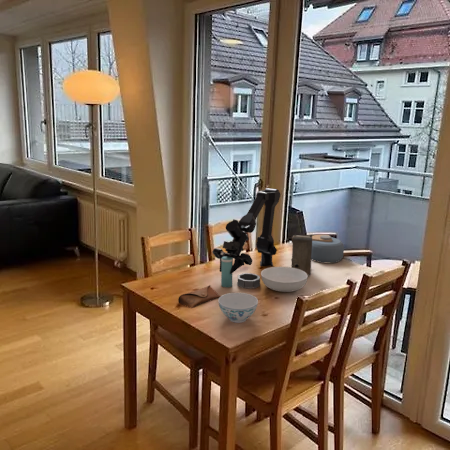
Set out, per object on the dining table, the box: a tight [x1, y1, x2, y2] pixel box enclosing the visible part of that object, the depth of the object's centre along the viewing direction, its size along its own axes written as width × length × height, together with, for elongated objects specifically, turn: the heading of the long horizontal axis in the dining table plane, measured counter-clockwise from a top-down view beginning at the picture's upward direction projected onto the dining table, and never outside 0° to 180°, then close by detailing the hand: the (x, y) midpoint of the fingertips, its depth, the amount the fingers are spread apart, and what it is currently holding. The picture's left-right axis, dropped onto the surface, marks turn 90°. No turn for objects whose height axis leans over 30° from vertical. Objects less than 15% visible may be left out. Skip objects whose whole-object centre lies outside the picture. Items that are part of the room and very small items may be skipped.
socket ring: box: [236, 272, 261, 289], centre depth 207 cm, size 10×10×4 cm
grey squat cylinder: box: [311, 234, 345, 263], centre depth 246 cm, size 19×20×12 cm
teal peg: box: [220, 256, 234, 288], centre depth 204 cm, size 5×5×13 cm
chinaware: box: [217, 292, 259, 324], centre depth 172 cm, size 15×15×8 cm
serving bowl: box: [260, 266, 309, 293], centre depth 203 cm, size 21×21×7 cm
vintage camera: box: [290, 234, 313, 276], centre depth 224 cm, size 10×16×20 cm, turn 174°
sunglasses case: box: [177, 284, 222, 309], centre depth 190 cm, size 18×7×7 cm
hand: (225, 272), depth 203 cm, fingers closed on teal peg, 5 cm apart
